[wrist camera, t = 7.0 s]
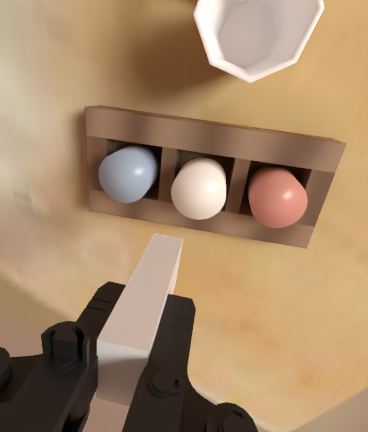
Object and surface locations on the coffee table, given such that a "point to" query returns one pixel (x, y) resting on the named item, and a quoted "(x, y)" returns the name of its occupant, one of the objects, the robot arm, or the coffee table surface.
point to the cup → (255, 33)
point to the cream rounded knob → (199, 188)
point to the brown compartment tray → (218, 145)
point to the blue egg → (129, 173)
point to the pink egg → (276, 197)
